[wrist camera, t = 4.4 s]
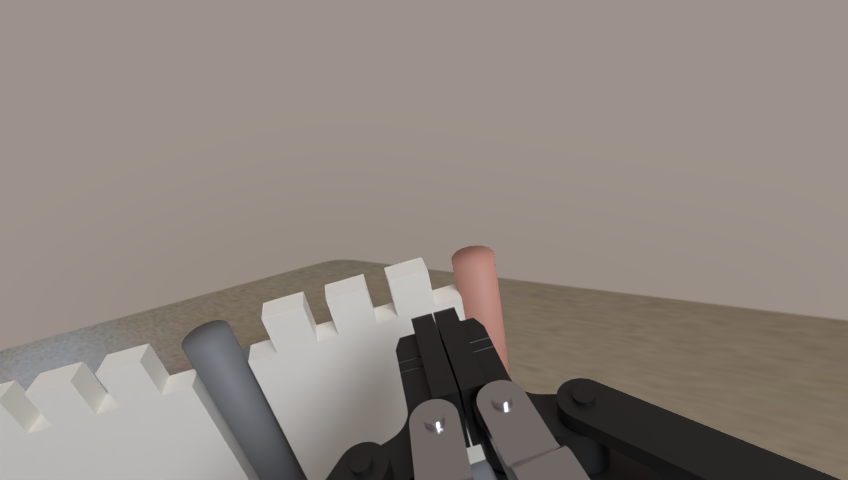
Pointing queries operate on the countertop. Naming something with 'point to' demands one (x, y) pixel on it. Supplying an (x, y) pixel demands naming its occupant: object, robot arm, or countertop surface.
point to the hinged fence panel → (361, 355)
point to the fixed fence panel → (147, 419)
